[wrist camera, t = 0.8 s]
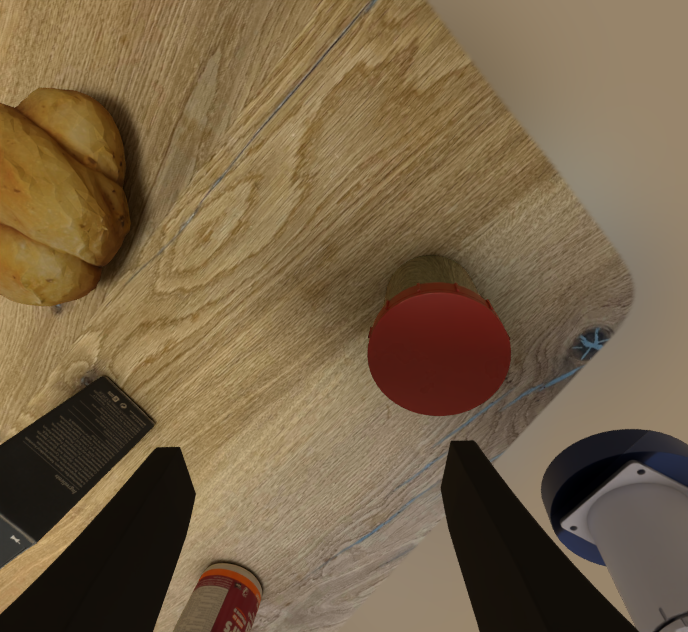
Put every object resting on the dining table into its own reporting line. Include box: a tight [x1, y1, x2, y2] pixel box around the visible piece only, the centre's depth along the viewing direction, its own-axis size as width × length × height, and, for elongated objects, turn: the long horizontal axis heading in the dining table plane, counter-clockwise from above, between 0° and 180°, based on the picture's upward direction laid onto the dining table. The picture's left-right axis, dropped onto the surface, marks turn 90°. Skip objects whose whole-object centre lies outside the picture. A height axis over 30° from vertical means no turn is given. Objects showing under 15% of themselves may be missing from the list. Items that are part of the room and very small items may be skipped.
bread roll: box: [0, 88, 131, 306], centre depth 20 cm, size 13×10×8 cm
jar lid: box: [367, 282, 511, 416], centre depth 16 cm, size 6×6×1 cm
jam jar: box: [383, 255, 479, 307], centre depth 19 cm, size 5×5×7 cm
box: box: [0, 376, 155, 569], centre depth 26 cm, size 8×6×11 cm
